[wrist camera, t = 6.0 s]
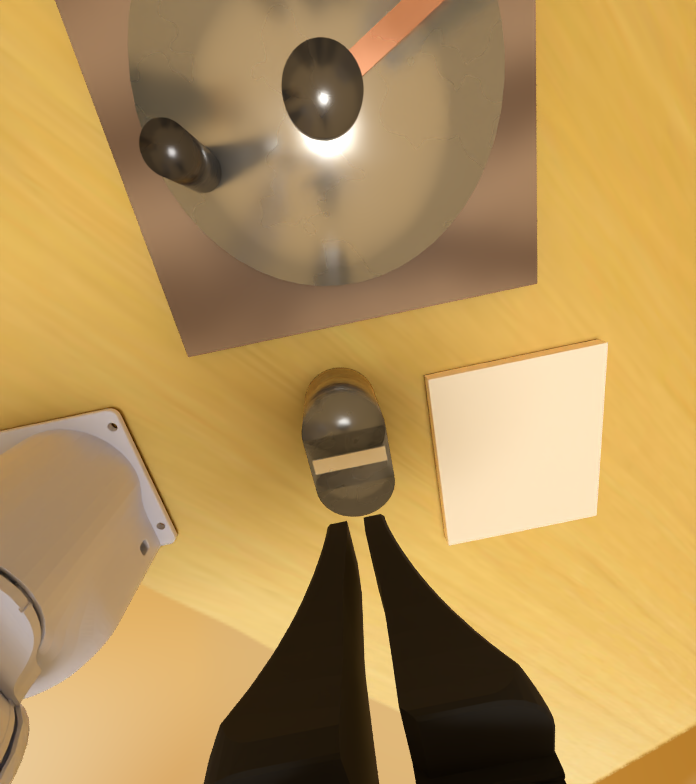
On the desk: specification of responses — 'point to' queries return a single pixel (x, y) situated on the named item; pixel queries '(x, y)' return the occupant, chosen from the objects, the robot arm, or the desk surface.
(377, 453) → the metal fitting
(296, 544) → the desk surface
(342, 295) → the dial base
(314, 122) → the dial
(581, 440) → the tile
